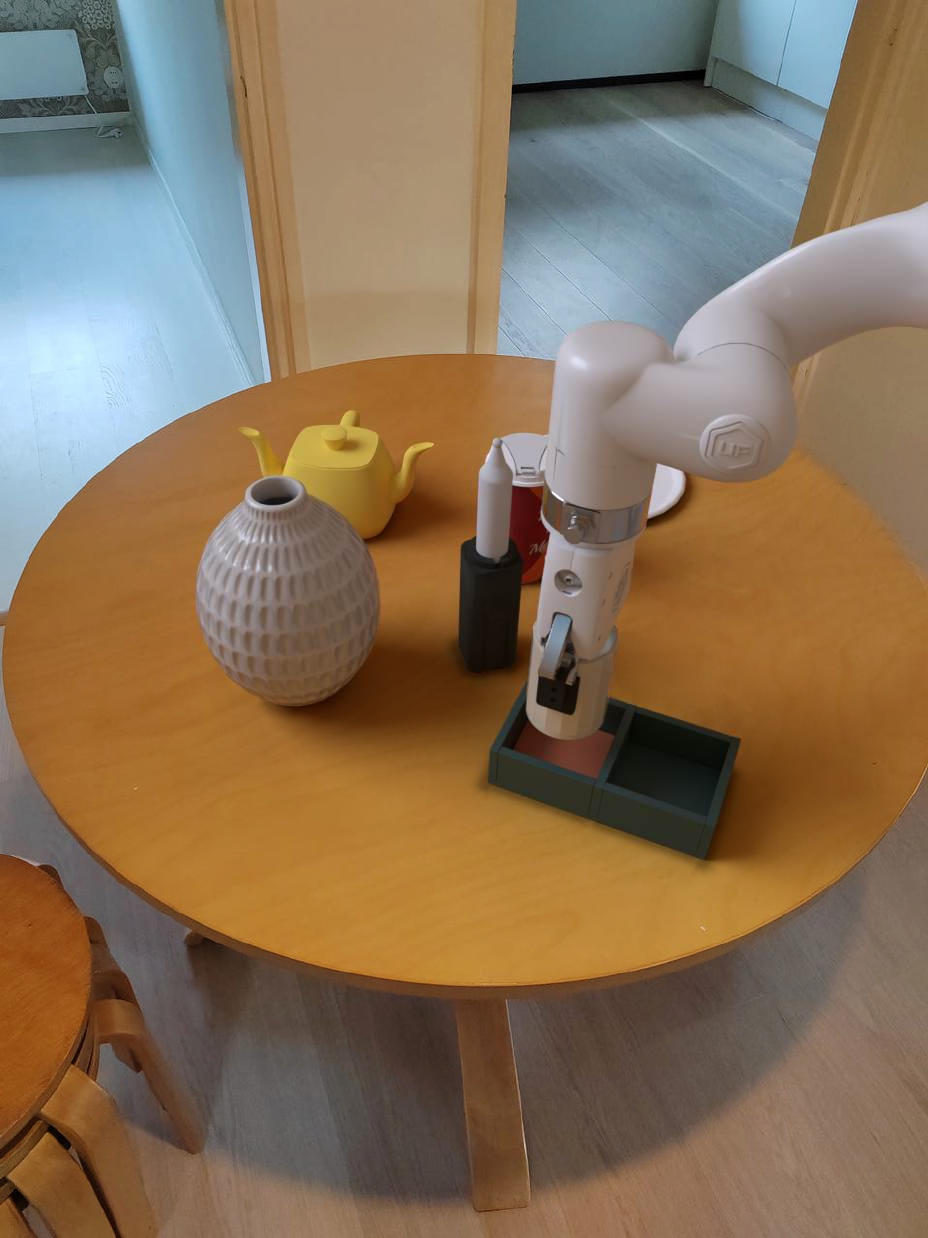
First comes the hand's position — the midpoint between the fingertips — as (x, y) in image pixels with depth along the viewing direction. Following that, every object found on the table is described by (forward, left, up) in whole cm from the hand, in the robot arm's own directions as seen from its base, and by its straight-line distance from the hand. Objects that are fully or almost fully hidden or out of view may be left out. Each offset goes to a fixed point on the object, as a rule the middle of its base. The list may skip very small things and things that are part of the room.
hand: (571, 675), depth 81 cm
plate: (+10, -44, -11) cm, 47 cm away
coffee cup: (+13, -24, -11) cm, 30 cm away
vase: (+26, +1, -11) cm, 29 cm away
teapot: (+36, -26, -11) cm, 46 cm away
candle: (+11, -10, -11) cm, 19 cm away
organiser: (-5, 0, -11) cm, 12 cm away
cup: (0, 0, -4) cm, 4 cm away
